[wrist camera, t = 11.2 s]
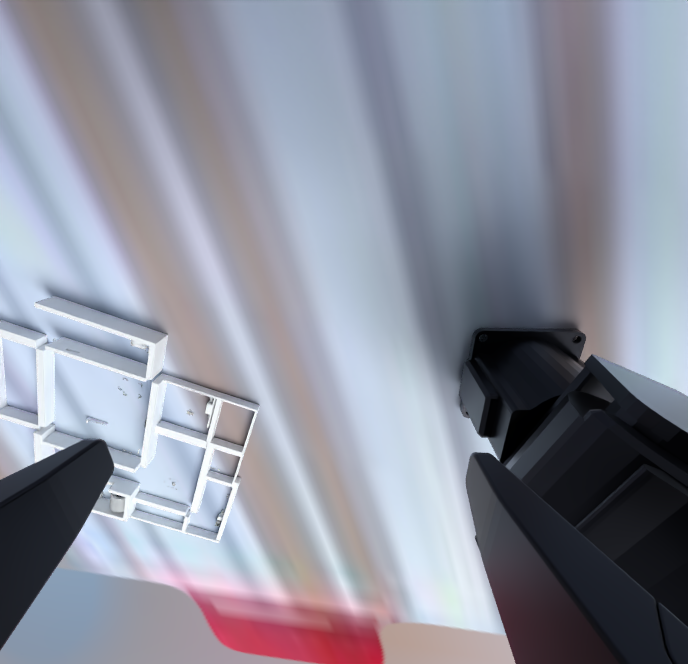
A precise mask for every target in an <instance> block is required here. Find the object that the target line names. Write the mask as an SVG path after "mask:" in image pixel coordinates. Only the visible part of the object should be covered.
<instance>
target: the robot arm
mask: <svg viewBox="0 0 688 664" xmlns="http://www.w3.org/2000/svg"><path fill="white" fill-rule="evenodd" d="M483 334H485V337H484V338H483V339H479V337H480V336H481V335H483ZM576 336H578V337H577V339H576V340H574V341H573V338H574V337H576ZM585 341H586V336H585V334H583V333H582V332H580V331H579V330H570V329H510V328H480V329H477V330H476V331H475V332H474V334H473V338H472V344H471V350H470V356H469V359H467V360H466V361H465V362H464V367H463V373H462V379H461V385H460V391H459V395H460V397H461V399H462V403H461V412H462V414H463V416H464V417H466V418H470V419H471V421H472V423H473V425H474V427H475V429H476V431H477V433H478V434H479V435H480V436H481V437H482V438H488V439H489V441H490V443H491V445H492V447H493V449H494V451H495V453H496V455H497V457H498V459H499V461H498V460H497V459H496V458H495V457H494V456H493V455H491V454H490V453H477V452H474V453H472V454H471V456H470V459H469V464H468V469H467V474H466V489H467V494H468V498H469V503H470V507H471V512H472V517H473V521H474V526H475V530H476V536H475V539H476V542H477V545H478V547H479V550H480V553H481V557H482V560H483V564H484V567H485V570H486V573H487V576H488V580H489V583H490V586H491V589H492V592H493V595H494V598H495V601H496V604H497V607H498V610H499V613H500V617H501V620H502V623H503V626H504V629H505V632H506V635H507V638H508V641H509V644H510V647H511V650H512V653H513V656H514V660H515V663H516V664H688V396H686V395H684V394H683V393H681V392H679V391H677V390H675V389H673V388H670V387H668V386H666V385H663V384H661V383H659V382H656V381H654V380H652V379H649V378H647V377H645V376H642V375H640V374H638V373H635V372H633V371H631V370H629V369H626V368H624V367H622V366H619V365H617V364H615V363H612V362H610V361H608V360H605V359H603V358H601V357H598V356H596V355H594V354H592V355H591V356H590V357H589V358H588V359H587V361H586V362H585V363H584V362H583V361H581V360H580V356H581V353H582V350H583V347H584V344H585ZM113 470H114V462H113V459H112V457H111V454H110V452H109V449H108V446H107V444H106V442H105V441H104V440H101V439H84V440H82V441H80V442H77V443H75V444H73V445H71V446H69V447H67V448H65V449H63V450H61V451H59V452H57V453H55V454H53V455H51V456H49V457H47V458H44V459H42V460H40V461H38V462H36V463H34V464H32V465H30V466H28V467H26V468H24V469H22V470H20V471H18V472H16V473H14V474H12V475H9V476H7V477H5V478H3V479H1V480H0V650H1V649H2V647H3V646H4V644H5V643H6V641H7V640H8V638H9V637H10V635H11V634H12V632H13V631H14V630H15V628H16V626H17V625H18V623H19V622H20V620H21V619H22V618H23V616H24V614H25V613H26V612H27V610H28V609H29V607H30V606H31V604H32V603H33V601H34V600H35V598H36V597H37V595H38V594H39V592H40V591H41V589H42V588H43V586H44V585H45V583H46V582H47V581H48V579H49V578H50V576H51V575H52V573H53V571H54V570H55V569H56V567H57V566H58V564H59V563H60V561H61V560H62V558H63V557H64V555H65V554H66V552H67V551H68V549H69V548H70V546H71V545H72V543H73V542H74V540H75V539H76V537H77V535H78V534H79V532H80V530H81V529H82V527H83V525H84V523H85V522H86V520H87V518H88V516H89V514H90V513H91V511H92V509H93V507H94V506H95V504H96V502H97V500H98V498H99V497H100V495H101V493H102V491H103V490H104V488H105V486H106V484H107V482H108V481H109V479H110V477H111V475H112V473H113Z"/></svg>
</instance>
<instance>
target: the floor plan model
mask: <svg viewBox="0 0 688 664" xmlns="http://www.w3.org/2000/svg"><path fill="white" fill-rule="evenodd" d="M35 307H36V308H39V309H42V310H45V311H48V312H51V313H54V314H57V315H60V316H63V317H66V318H69V319H72V320H75V321H77V322H80V323H83V324H86V325H89V326H92V327H95V328H98V329H101V330H104V331H107V332H110V333H113V334H116V335H119V336H122V337H125V338H128V339H131V345H132V346H135V347H138V348H141V349H146V348H148V349H149V351H148V352H147V353H149V356H148V363H147V364H144V363H141V362H138V361H135V360H132V359H129V358H126V357H123V356H120V355H117V354H114V353H111V352H108V351H105V350H102V349H99V348H96V347H93V346H90V345H87V344H84V343H81V342H78V341H75V340H72V339H68V338H65V337H62V338H59V339H57V340H56V339H55V338H54V339H53V342H51V343H47V335H45V334H42V333H39V332H36V331H33V330H30V329H27V328H24V327H21V326H18V325H15V324H12V323H9V322H6V321H3V320H0V419H4V420H7V421H10V422H14V423H17V424H20V425H23V426H27V427H30V428H33V429H37V431H35V432H34V455H35V463H36V462H38V461H40V460H42V459H44V458H47V457H49V456H51V455H53V454H55V448H57V449H60V450H63V449H65V448H67V447H69V446H71V445H73V444H75V443H77V442H80V441H82V440H83V439H80V438H77V437H73V436H70V435H67V434H64V433H60V432H57V431H55V425H54V424H51V423H52V422H53V421H55V353H58V354H61V355H64V356H67V357H70V358H73V359H76V360H80V361H83V362H86V363H89V364H92V365H95V366H98V367H101V368H104V369H107V370H110V371H113V372H116V373H119V374H122V375H125V376H128V377H131V378H135V379H138V380H141V381H144V382H146V381H147V380H152V379H153V378H154V377H155V376H156V375H157V374H158V373H160V372H161V371H162V370H163V364H164V358H165V351H166V345H167V339H168V335H167V334H164V333H161V332H158V331H155V330H152V329H150V328H147V327H144V326H141V325H138V324H135V323H132V322H129V321H126V320H123V319H120V318H117V317H115V316H112V315H109V314H106V313H103V312H100V311H97V310H94V309H91V308H88V307H85V306H83V305H80V304H77V303H74V302H71V301H68V300H65V299H62V298H59V297H56V296H53V297H50V298H47V299H44V300H41V301H38V302H35ZM2 338H5V339H8V340H11V341H14V342H17V343H20V344H23V345H26V346H29V347H32V348H35V349H36V368H37V399H38V415H37V414H33V413H30V412H27V411H24V410H20V409H17V408H14V407H11V406H7V396H6V384H5V372H4V359H3V347H2ZM54 340H55V341H54ZM147 345H148V346H149V347H148V346H147ZM145 351H146V350H145ZM124 379H126V378H124ZM126 380H127V379H126ZM127 381H128V380H127ZM167 383H170V384H173V385H176V386H180V387H181V388H184V389H187V390H190V391H193V392H196V393H199V394H202V395H205V396H208V397H210V401H209V402H208V403H207V407H206V411H205V413H206V414H208V418H209V421H208V425H207V428H208V427H209V426H210V428H209V432H208V435H206V434H203V433H200V432H197V431H194V430H191V429H187V428H184V427H181V426H178V425H175V424H172V423H168V422H165V421H162V420H161V416H162V410H163V404H164V398H165V392H166V386H167ZM139 384H141V383H139ZM141 385H142V384H141ZM141 387H142V386H141ZM118 389H119V387H118ZM119 390H122V389H119ZM123 395H125V394H124V392H123ZM125 396H127V395H125ZM139 396H140V398H141V395H140V394H139ZM223 401H225V402H228V403H231V404H234V405H237V406H240V407H243V408H246V409H249V410H252V411H255V414H254V417H253V420H252V423H251V426H250V429H249V432H248V436H247V439H246V442H245V445H244V447H243V446H240V445H237V444H234V443H231V442H228V441H225V440H221V439H218V438H215V437H214V434H215V430H216V426H217V422H218V419H219V415H220V411H221V407H222V403H223ZM259 406H260V405H257V404H254V403H251V402H248V401H245V400H242V399H239V398H236V397H233V396H230V395H227V394H224V393H220V392H217V391H214V390H211V389H208V388H205V387H202V386H199V385H196V384H193V383H190V382H187V381H184V380H181V379H178V378H175V377H172V376H169V375H166V374H163V373H162V374H161V375H159V376H158V377H157V378H156V379H155V380H154V381H153V382H152V386H151V393H150V400H149V407H148V414H147V420H146V422H145V434H144V441H143V448H142V455H141V457H139V456H136V455H132V454H129V453H126V452H123V451H119V450H116V449H113V448H111V447H108V449H109V452H110V454H111V457H112V459H113V462H114V467H117V468H120V469H123V470H126V471H129V472H132V473H135V472H136V471H137V469H138V468H139V467H143V468H146V467H147V466H148V465H149V463H150V462H151V461H152V460H153V458H154V457H155V452H156V446H157V440H158V434H160V435H163V436H167V437H170V438H173V439H176V440H179V441H183V442H186V443H189V444H192V445H195V446H199V447H202V448H205V449H206V451H205V455H204V459H203V463H202V467H201V471H200V475H199V479H198V483H197V487H196V491H195V494H194V498H193V502H192V506H191V510H189V506H187V505H183V504H180V503H177V502H173V501H170V500H167V499H163V498H160V497H156V496H153V495H150V494H146V493H143V492H139V489H140V483H138V482H134V481H131V480H127V479H124V478H121V477H118V476H114V475H111V477H110V479H109V481H108V482H107V484H109V485H112V486H111V488H110V489H109V493H111V499H107V498H103V492H102V493H101V495H100V497H99V498H98V500H97V502H96V504H95V506H94V507H93V509H92V511H91V512H93V513H97V514H100V515H104V516H107V517H111V518H114V519H118V520H121V521H125V522H126V521H127V520H128V519H129V517H130V518H133V519H137V520H140V521H144V522H147V523H151V524H154V525H158V526H161V527H165V528H168V529H172V530H175V531H179V532H182V533H186V534H189V535H193V536H196V537H200V538H203V539H207V540H210V541H214V542H217V543H219V541H220V539H221V536H222V534H223V531H224V528H225V525H226V522H227V519H228V516H229V513H230V510H231V507H232V504H233V501H234V498H235V495H236V492H237V489H238V486H239V483H240V480H241V478H240V477H237V475H238V472H239V469H240V465H241V462H242V459H243V456H244V453H245V450H246V447H247V444H248V441H249V437H250V434H251V431H252V428H253V425H254V422H255V419H256V416H257V413H258V410H259ZM191 411H192V410H191ZM187 414H189V415H193V412H190V411H187ZM88 421H91V422H95V423H99V424H103V425H107V424H108V423H106V422H103V421H100V420H96V419H93V418H90V417H88V418H87V419H86V423H88ZM215 449H217V450H220V451H223V452H226V453H229V454H233V455H236V456H239V457H241V458H240V461H239V464H238V467H237V470H236V473H235V476H234V477H230V476H227V475H224V474H221V473H217V472H214V471H211V470H210V468H212V467H210V466H211V463H212V459H213V455H214V452H215ZM122 450H123V449H122ZM124 451H126V450H124ZM128 452H129V451H128ZM130 453H132V452H130ZM138 453H139V450H138ZM213 469H215V468H213ZM218 470H219V469H218ZM207 480H210V481H213V482H216V483H219V484H223V485H226V486H229V487H233V488H232V491H231V494H227V495H228V496H227V497H226V498H229V501H228V504H227V507H226V510H224V509H223V510H222V512H221V513H220V514H219V516H218V518H217V521H216V524H215V526H218V527H219V525H220V523H221V526H220V529H219V532H218V533H214V532H211V531H207V530H204V529H200V528H197V527H194V526H190V525H189V521H190V517H191V513H192V512H193V513H197V512H198V510H199V508H200V506H201V502H202V498H203V495H204V491H205V487H206V484H207ZM107 484H106V485H107ZM172 484H173V486H175V483H172ZM176 490H177V489H176ZM114 494H116V495H120V496H123V497H117V496H115V495H114ZM229 495H230V497H229ZM136 502H137V503H141V504H144V505H147V506H151V507H154V508H158V509H161V510H165V511H168V512H171V513H175V514H178V515H182V516H185V519H184V523H180V522H177V521H173V520H170V519H167V518H163V517H160V516H156V515H153V514H149V513H146V512H142V511H139V510H135V506H136ZM224 511H225V513H224ZM223 515H224V516H223ZM222 518H223V519H222ZM221 520H222V522H221Z"/></svg>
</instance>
